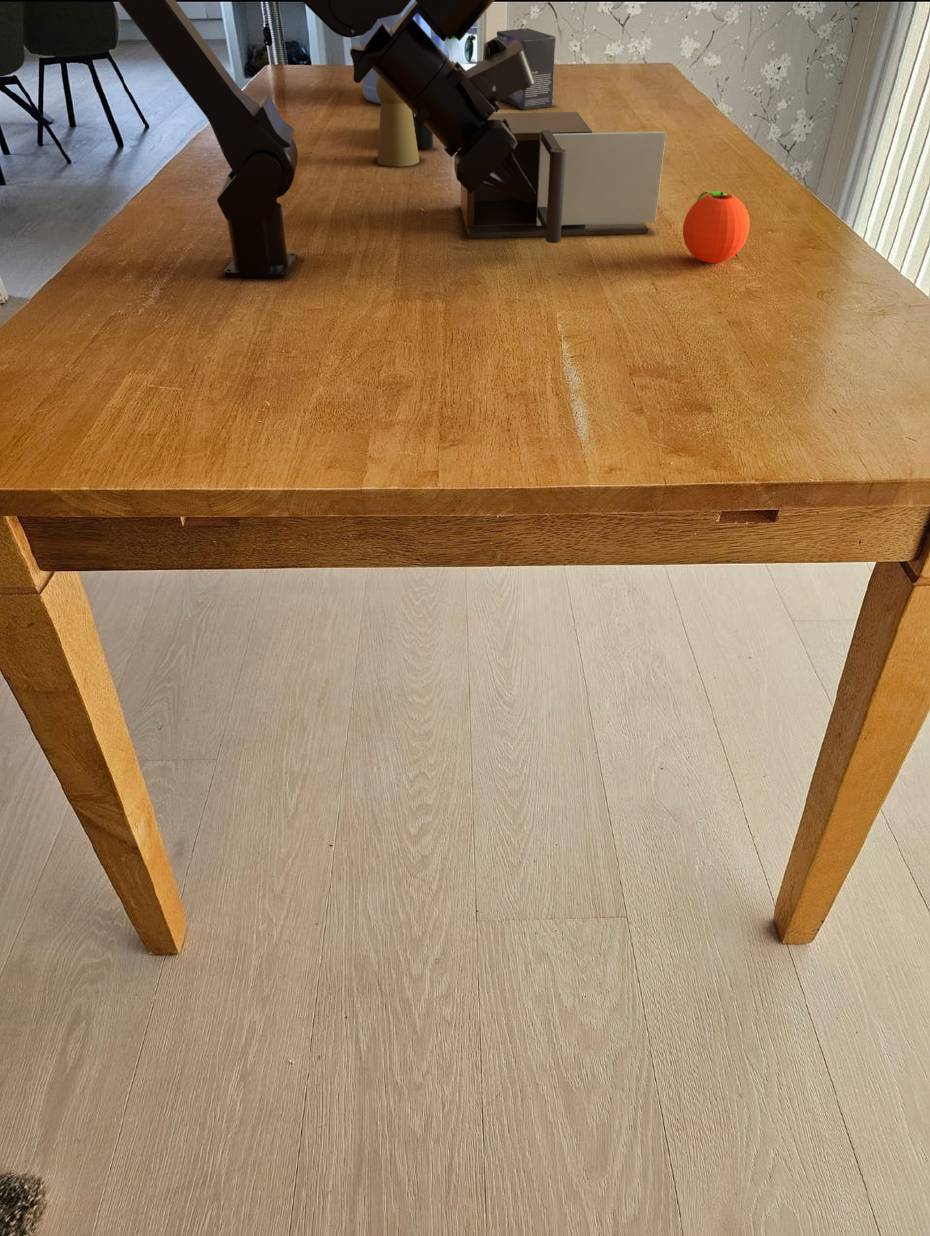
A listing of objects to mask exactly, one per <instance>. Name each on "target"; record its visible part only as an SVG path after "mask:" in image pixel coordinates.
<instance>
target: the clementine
mask: <svg viewBox="0 0 930 1236" xmlns="http://www.w3.org/2000/svg"><path fill="white" fill-rule="evenodd" d="M686 213H687V214H686V215H685V218H684V221H683V225H682V237H683V240H684V244H685V247H686V249H687V250H688V252H689V253H690V254H691V255H692V256H693V257H695V259H697V260H700V261H702V262H704V263H709V264H716V263H722V262H725V261H727V260H729V259H731V258H733V257H734V256H735V255H736V254H737V253H738V252H739V251H741V250H742V248H743V247H744V245H745V244H746V242H747V239H748V236H749V233H750V223H751V220H750V216H749V212H748V210H747V208H746V207H745V204H744V203H743V202H742V201H741V200H740V199H739V198H737V197H736V196H735V195H733V194H732V193H731V194H730V193H726V192H723V191H721V190H709V191H703V192H701V193H700V194H699V195H698V197H697V199H696V202H694V203H693V205H692V206H691V207H690V208H689V210H688V211H687V212H686Z"/></svg>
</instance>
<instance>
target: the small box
mask: <svg viewBox="0 0 930 1236" xmlns="http://www.w3.org/2000/svg"><path fill="white" fill-rule="evenodd" d="M496 37H497V38H498V39H499V40H501V41H502V42H503V43H504V44H505V45H506V46H507V47H509V46H510V44H511V43H513V42H514V43H520V44H521V46H522V47H523V49H524V52H525V54H526V57H527V60H528V63H529V65H530V68H531V71H532V74H533V76H534V79H535V83H534V84H533V85H532V86H530V87H529V88H527V89H525V90H521V89H520V90H518V91H516V92H514V93H513V94H511V95H509V96H507V97H505V98H503V99H501V100H500V101H502V102H505V103H508V104H509V105H511V106H514V107H517V108H518V109H521V110H532V109H540V108H541V109H542V108H550V107H553V106H554V81H555V79H554V78H555V56H556V55H555V53H556V42H557V41H556V40H557V37H556V36H554V35H551V34H548V33H544V32H541V31H537V30H535V29H532V28H528V27H526V28H525V27H524V28H516V29H508V30H506V29H505V30H497V31H496Z"/></svg>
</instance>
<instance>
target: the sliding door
mask: <svg viewBox="0 0 930 1236" xmlns="http://www.w3.org/2000/svg"><path fill="white" fill-rule="evenodd" d="M666 138H667V132H666V131H664V130H663V131H662V130H661V131H625V132H624V131H621V132H620V131H619V132H617V131H615V132H614V131H613V132H593V133H567V134H552V133H551V131H550V130H542V131H541V134H540V149H539V171H538V194H537V217H536V225H537V226H542V227H543V229H544V232H545V234H546V236H545V242H546V243H549V244H556V243H557V244H558V243H560V242H561V240H562V239H561V238H562V236H561V225H598V224H634V223H645V224H654V223H656V221H657V212H658V204H659V197H660V196H659V195H660V186H661V178H662V173H663V172H662V171H663V163H664V155H665V147H666Z"/></svg>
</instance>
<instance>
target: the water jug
mask: <svg viewBox="0 0 930 1236" xmlns="http://www.w3.org/2000/svg"><path fill="white" fill-rule="evenodd" d="M414 1H415V0H411V1H410V2H409V4H408V5H407V6H406V7H405V9H404V10H403V11H402V12H401V13H400V14H398V15H393V16H389V17H385V18H381V19H378V20H377V22H376V23H375V24H374V26H373V27H372V29H371V30H369V31H368V32H366V33H365V34H364V35H361V36H358V40H359V45H360V47H361V46H364V45H365V44H366V42H367V41H368V40H369V39H370V38H371V36H372V35H373V34H374V33H375V31H376V30H377V29H378V28H379V26H380V25H381V24H382V23H384V24H386V25H387V26H388V27H389V28H390V29H391V28H392V27H393V26H394V25H395V24H396V23H397V21H398V20H399V19H400V18H401V17H402V16H403V15H404V13H405V12H406V11H407V10H408V8H409V7H410V6H411V5H412V4H413V2H414ZM413 19H414V20H415V21H416V22H417V23H418V24H419V26H420V27H421V28H422V29H423V30H424V31H425V32H426V34H427V35H428V36H429V37H430V38H431V39H432V29H431V28H430V27H429V26H428V24H427V23H426V22H425V21H424V20H423V18H422V17H421V16H420V15H419V14H418V13H417V14H416V15H415V16H414V17H413ZM433 37H434V39H433V42H434V43H435V44H436V45H437V46H438V47H439V48H440V50H441V51H442V52H443V53H444V54H445V55H446V56H447V57H448V59H449V60H450V52H449V50H448V49H447V48H446V40H445V41H444V42H443V41H442V40H441V39H440V38H439V37H438V36H437V35H436V34H435V32H434V31H433ZM379 77H380V76H379V75H378V74H377V73H376V72H375V71H374V70H373V69H371V70H370V71H369V72H368V74H367V75H366V76H365V77H364V78H363V80H362V81H361V87H362V95H363V97H364V99H365V100H367V101H368V102H371V103H373V104H376V105H381V101H380V99H379V98H378V95H377V92H376V84H377V81H378V78H379Z"/></svg>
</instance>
